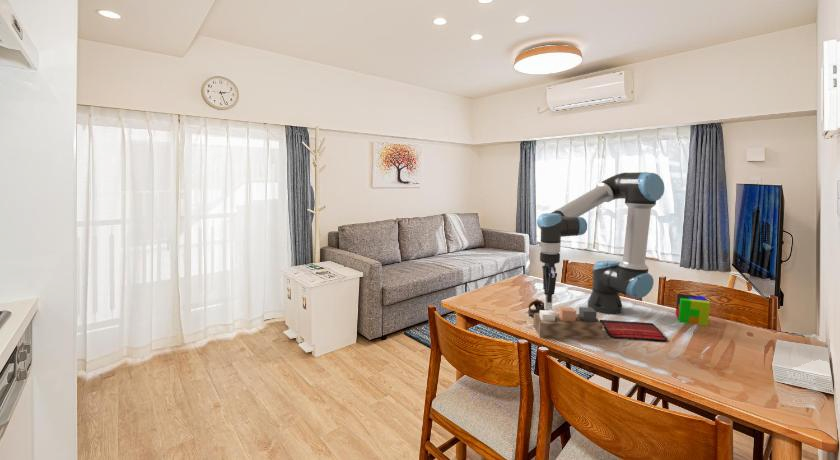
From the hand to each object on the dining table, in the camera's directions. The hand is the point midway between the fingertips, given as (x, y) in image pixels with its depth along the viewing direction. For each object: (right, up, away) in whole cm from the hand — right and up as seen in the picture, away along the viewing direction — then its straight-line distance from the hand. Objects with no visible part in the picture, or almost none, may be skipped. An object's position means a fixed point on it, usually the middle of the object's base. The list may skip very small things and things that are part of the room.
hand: (548, 308), depth 155 cm
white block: (0, -7, +1) cm, 7 cm away
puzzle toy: (+68, -8, +13) cm, 70 cm away
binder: (+35, -10, +1) cm, 36 cm away
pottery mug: (+3, -7, +20) cm, 22 cm away
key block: (+8, -10, +1) cm, 12 cm away
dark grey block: (+16, -6, 0) cm, 17 cm away
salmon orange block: (+8, -6, 0) cm, 10 cm away
